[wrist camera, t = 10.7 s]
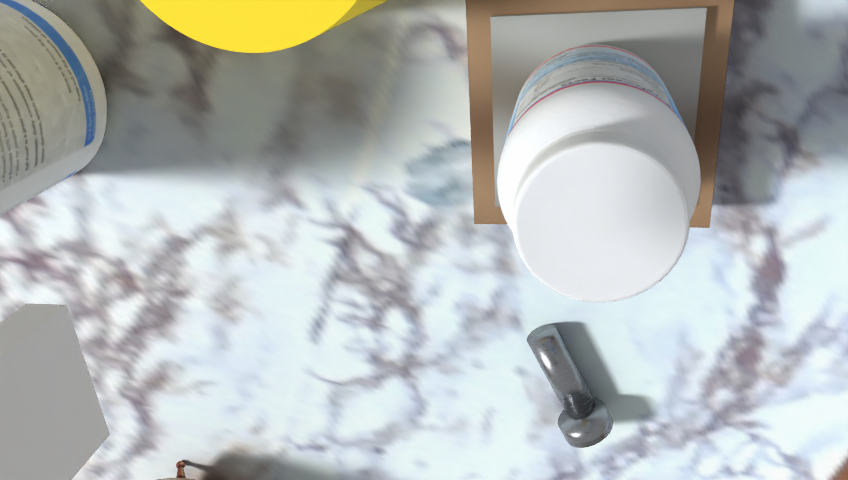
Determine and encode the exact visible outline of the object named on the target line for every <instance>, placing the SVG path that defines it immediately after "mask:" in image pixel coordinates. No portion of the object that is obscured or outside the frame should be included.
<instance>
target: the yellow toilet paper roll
mask: <svg viewBox="0 0 848 480" xmlns="http://www.w3.org/2000/svg"><path fill="white" fill-rule="evenodd" d="M140 1H141V2H142V3H143V4H144V5H145V6H146V7H147V8H148V9H149V10H150V11H152V12H153V13H154V14H155V15H156V16H157V17H159V18H160V19H161V20H163V21H164V22H165V23H167V24H168V25H169V26H171V27H172V28H174V29H176V30H177V31H179V32H181V33H182V34H184V35H186V36H188V37H190V38H192V39H194V40H196V41H199V42H201V43H204V44H206V45H209V46H212V47H216V48H219V49H224V50H228V51H234V52H243V53H263V52H272V51H278V50H283V49H287V48H290V47H293V46H296V45H299V44H301V43H304V42H306V41H308V40H310V39H312V38H314V37H316V36H318V35H320V34H322V33H324V32H326V31H328V30H330V29H332V28H334V27H336V26H338V25H340V24H342V23H344V22H346V21H348V20H350V19H352V18H354V17H356V16H358V15H360V14H362V13H364V12H366V11H368V10H370V9H372V8H374V7H376V6H378V5H380V4H382V3H384V2H386V1H387V0H140Z"/></svg>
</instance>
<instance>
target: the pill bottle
mask: <svg viewBox="0 0 848 480" xmlns="http://www.w3.org/2000/svg"><path fill="white" fill-rule="evenodd" d="M700 184H701V177H700V165H699V160H698V156H697V152H696V149H695V146H694V143H693V141H692V139H691V136H690V135H689V133H688V130H687V128H686V126H685V124H684V122H683V120H682V118H681V116H680V114H679V112H678V110H677V108H676V106H675V104H674V101H673V99H672V97H671V96H670V94H669V92H668V90H667V88H666V86H665V84H664V82H663V81H662V79H661V77H660V76H659V75H658V74H657V72H656V71H655V70H654V69H653V68H652V67H651V66H650V65H649V64H648V63H647V62H646V61H644V60H643V59H641V58H640V57H638V56H637V55H635V54H633V53H631V52H628V51H626V50H623V49H620V48H617V47H612V46H607V45H597V44H593V45H580V46H575V47H572V48H568V49H565V50H563V51H561V52H558V53H556V54H555V55H553V56H551V57H549V58H548V59H547V60H545V61H544V62H543V63H542V64H540V65H539V66H538V67H537V68H536V69H535V70H534V71H533V73H532V74H531V75H530V76H529V78H528V79H527V80H526V82H525V84H524V86H523V87H522V89H521V91H520V94H519V96H518V99H517V102H516V105H515V108H514V112H513V115H512V118H511V121H510V124H509V128H508V132H507V135H506V139H505V142H504V146H503V149H502V153H501V156H500V161H499V166H498V175H497V190H498V198H499V202H500V206H501V210H502V213H503V215H504V218H505V220H506V222H507V224H508V226H509V227H510V229H511V231H512V232H513V235H514V240H515V243H516V246H517V249H518V251H519V254H520V256H521V258H522V259H523V261H524V263H525V265H526V266H527V267H528V269H529V270H530V271H531V272H532V274H533V275H534V276H535V277H536V278H538V279H539V280H540V281H541V282H542V283H543V284H544V285H546V286H547V287H549V288H551V289H552V290H554V291H556V292H558V293H560V294H562V295H564V296H567V297H569V298H573V299H577V300H581V301H588V302H611V301H618V300H622V299H626V298H630V297H632V296H635V295H638V294H640V293H642V292H644V291H646V290H648V289H649V288H651V287H652V286H654V285H655V284H657V283H658V282H660V281H661V280H662V279H663V278H664V277H665V276H666V275H667V274H668V273H669V272H670V271H671V269H672V268H673V267H674V266H675V264H676V263H677V261H678V260H679V258H680V256H681V254H682V252H683V250H684V247H685V244H686V241H687V238H688V233H689V226H690V220H691V218H692V215H693V213H694V211H695V208H696V204H697V201H698V197H699V192H700Z"/></svg>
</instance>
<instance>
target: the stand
mask: <svg viewBox="0 0 848 480" xmlns="http://www.w3.org/2000/svg"><path fill="white" fill-rule="evenodd" d="M733 7H734V0H466V18H467V44H468V70H469V96H470V122H471V147H472V173H473V199H474V224H507V222H506V220H505V218H504V215H503V213H502V210H501V206H500V202H499V198H498V190H497V175H498V166H499V161H500V156H501V153H502V149H503V146H504V142H505V139H506V135H507V132H508V128H509V124H510V121H511V118H512V115H513V112H514V108H515V105H516V102H517V99H518V96H519V94H520V91H521V89H522V87H523V86H524V84H525V82H526V80H527V79H528V78H529V76H530V75H531V74H532V73H533V71H534V70H535V69H536V68H537V67H538V66H539V65H540V64H542V63H543V62H544V61H545V60H547V59H548V58H549V57H551V56H553V55H555V54H556V53H558V52H561V51H563V50H565V49H568V48H572V47H575V46H580V45H593V44H597V45H607V46H612V47H617V48H620V49H623V50H626V51H628V52H631V53H633V54H635V55H637V56H638V57H640V58H641V59H643V60H644V61H646V62H647V63H648V64H649V65H650V66H651V67H652V68H653V69H654V70H655V71H656V72H657V74H658V75H659V76H660V77H661V79H662V81H663V82H664V84H665V86H666V88H667V90H668V92H669V94H670V96H671V97H672V99H673V101H674V104H675V106H676V108H677V110H678V112H679V114H680V116H681V118H682V120H683V122H684V124H685V126H686V128H687V130H688V133H689V135H690V136H691V139H692V141H693V143H694V146H695V149H696V152H697V156H698V160H699V165H700V177H701V184H700V192H699V197H698V201H697V204H696V208H695V211H694V213H693V215H692V218H691V220H690V226H689V227H702V228H709V227H710V218H711V209H712V200H713V190H714V181H715V172H716V163H717V154H718V145H719V135H720V126H721V117H722V108H723V99H724V90H725V80H726V71H727V62H728V53H729V44H730V35H731V25H732V16H733Z"/></svg>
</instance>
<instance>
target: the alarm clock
mask: <svg viewBox="0 0 848 480" xmlns="http://www.w3.org/2000/svg"><path fill="white" fill-rule="evenodd" d="M176 467H177V468H178V472H177V478H166V479H158V480H194V479H187V478H185V473H184V469H183V468H184V467H185V463H184V462H183V461H179V462H178V463H177V464H176Z"/></svg>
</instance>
